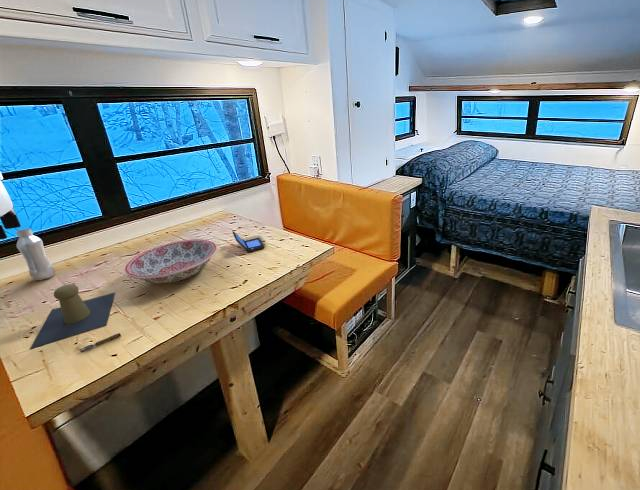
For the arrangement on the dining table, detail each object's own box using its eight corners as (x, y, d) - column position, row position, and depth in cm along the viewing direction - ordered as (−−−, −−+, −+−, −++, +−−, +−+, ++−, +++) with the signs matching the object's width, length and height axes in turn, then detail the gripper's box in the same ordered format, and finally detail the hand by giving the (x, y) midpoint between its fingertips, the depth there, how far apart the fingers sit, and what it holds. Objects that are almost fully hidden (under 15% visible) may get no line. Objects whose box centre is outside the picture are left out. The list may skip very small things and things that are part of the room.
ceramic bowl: (183, 252, 135) (179, 235, 132) (236, 261, 126) (233, 243, 124) (111, 289, 109) (103, 270, 106) (171, 303, 100) (165, 283, 98)
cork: (61, 326, 91) (46, 295, 87) (67, 315, 96) (53, 285, 92) (88, 318, 94) (75, 288, 90) (92, 308, 99) (80, 279, 95)
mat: (30, 349, 83) (29, 348, 83) (51, 310, 99) (51, 309, 99) (106, 325, 91) (106, 324, 91) (115, 292, 107) (115, 292, 107)
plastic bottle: (46, 273, 120) (24, 226, 114) (62, 273, 120) (41, 226, 113) (27, 282, 114) (3, 234, 107) (44, 282, 114) (21, 234, 107)
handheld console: (265, 249, 136) (262, 234, 133) (239, 256, 131) (236, 240, 128) (259, 239, 146) (256, 225, 143) (234, 245, 141) (231, 230, 138)
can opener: (121, 335, 87) (120, 331, 87) (120, 339, 85) (119, 336, 85) (78, 349, 82) (77, 346, 82) (77, 355, 80) (75, 352, 80)
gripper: (-25, 172, 88) (0, 226, 94) (-62, 185, 74) (-29, 248, 80) (13, 169, 92) (35, 221, 97) (-15, 180, 78) (13, 241, 84)
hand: (6, 233), depth 89 cm, fingers open, 9 cm apart
